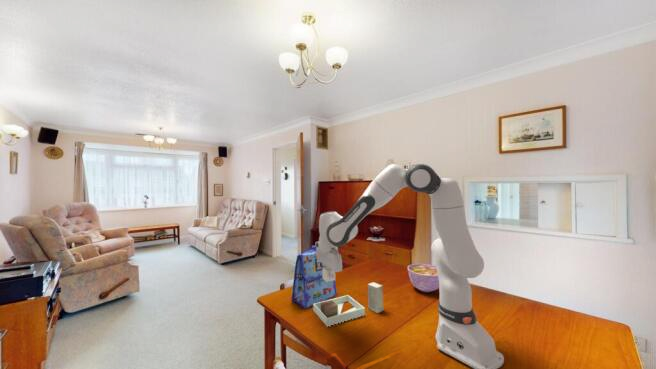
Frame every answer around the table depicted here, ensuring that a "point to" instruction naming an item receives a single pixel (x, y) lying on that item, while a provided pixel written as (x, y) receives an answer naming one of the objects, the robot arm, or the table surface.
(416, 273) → the bowl of food
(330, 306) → the walnut block
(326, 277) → the cream cube
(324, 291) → the lunch bag
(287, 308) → the table surface
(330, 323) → the tray
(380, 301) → the skincare box
